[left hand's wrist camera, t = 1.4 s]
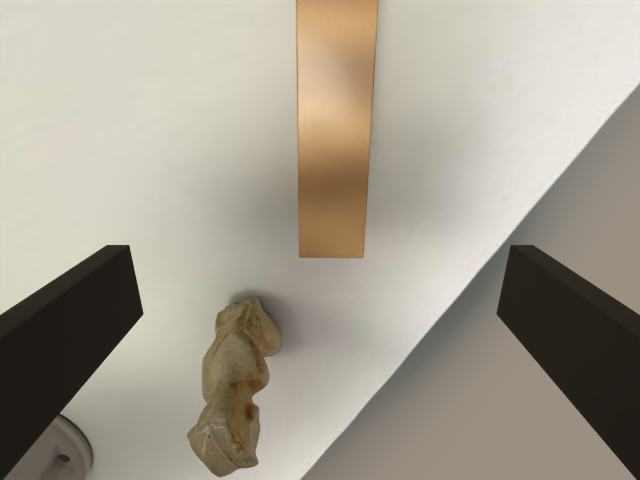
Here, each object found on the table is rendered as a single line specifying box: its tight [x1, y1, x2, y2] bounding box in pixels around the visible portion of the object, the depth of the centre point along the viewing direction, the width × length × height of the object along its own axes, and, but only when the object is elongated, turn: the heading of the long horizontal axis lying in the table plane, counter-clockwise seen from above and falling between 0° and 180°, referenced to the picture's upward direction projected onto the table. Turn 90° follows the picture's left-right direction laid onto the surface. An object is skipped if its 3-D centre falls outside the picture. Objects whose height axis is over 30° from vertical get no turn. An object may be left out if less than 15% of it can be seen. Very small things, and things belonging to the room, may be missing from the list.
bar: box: [296, 0, 378, 258], centre depth 26 cm, size 21×5×9 cm, turn 179°
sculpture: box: [187, 296, 282, 477], centre depth 30 cm, size 6×7×15 cm
